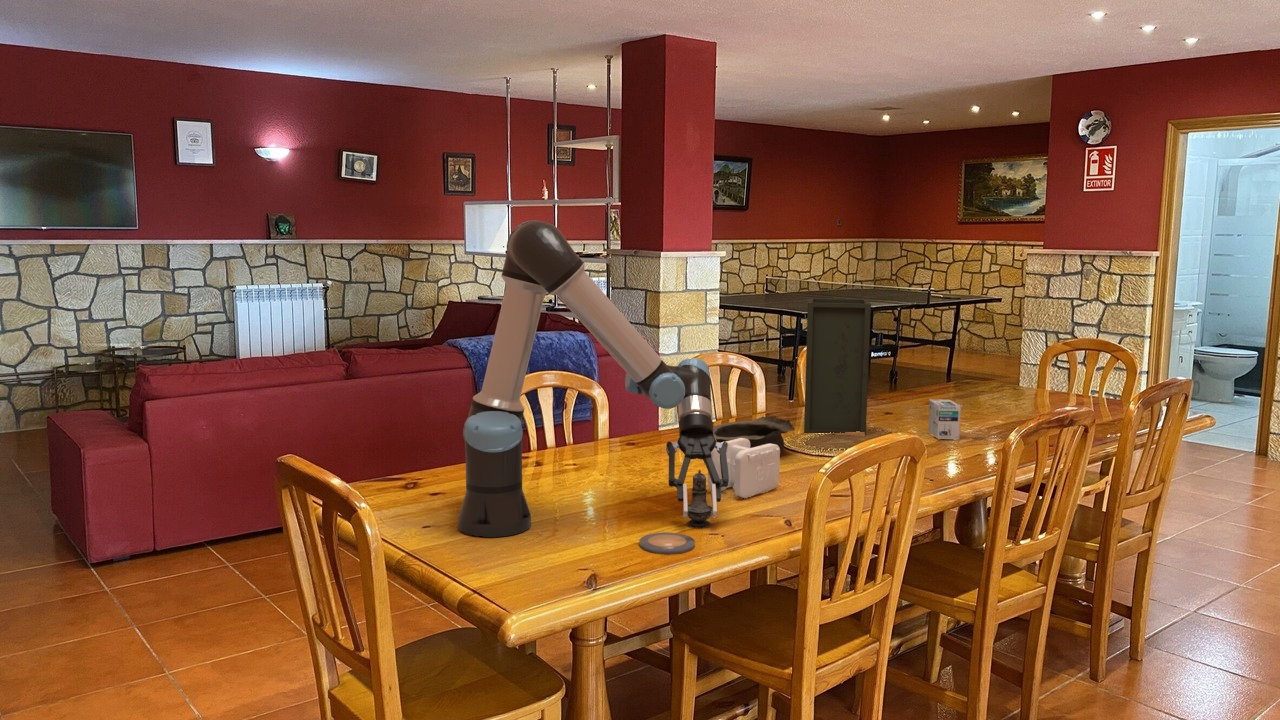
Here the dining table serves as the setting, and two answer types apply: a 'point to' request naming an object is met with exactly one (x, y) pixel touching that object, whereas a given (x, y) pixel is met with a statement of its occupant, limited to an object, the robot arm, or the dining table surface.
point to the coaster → (667, 543)
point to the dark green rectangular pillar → (837, 365)
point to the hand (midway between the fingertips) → (700, 514)
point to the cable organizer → (749, 467)
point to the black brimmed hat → (755, 431)
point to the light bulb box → (944, 419)
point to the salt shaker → (699, 503)
